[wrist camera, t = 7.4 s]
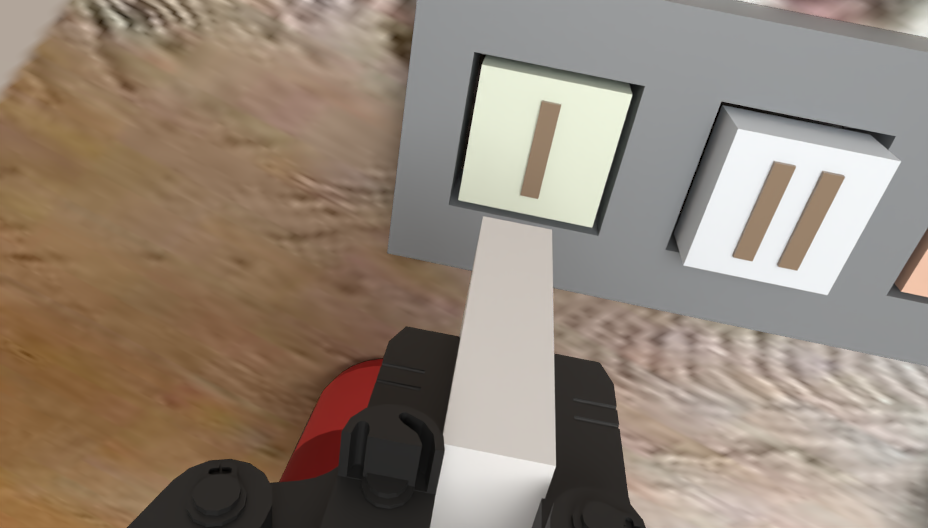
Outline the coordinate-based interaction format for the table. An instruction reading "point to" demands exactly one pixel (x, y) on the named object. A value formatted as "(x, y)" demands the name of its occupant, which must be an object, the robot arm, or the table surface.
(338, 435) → the canned food
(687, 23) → the keypad
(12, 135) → the table surface
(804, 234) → the tile
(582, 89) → the tile
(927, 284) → the tile
